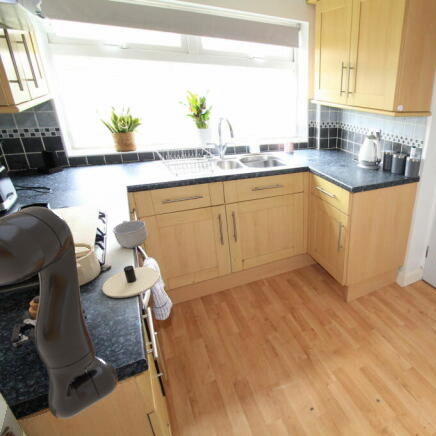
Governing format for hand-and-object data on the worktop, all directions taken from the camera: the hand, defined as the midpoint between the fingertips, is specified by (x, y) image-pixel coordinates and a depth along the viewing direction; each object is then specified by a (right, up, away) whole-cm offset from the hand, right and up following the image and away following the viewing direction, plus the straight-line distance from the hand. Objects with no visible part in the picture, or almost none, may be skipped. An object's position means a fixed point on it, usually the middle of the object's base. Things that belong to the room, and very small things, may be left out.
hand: (41, 309), depth 80 cm
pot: (-11, +4, +24) cm, 27 cm away
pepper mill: (+2, -7, +1) cm, 7 cm away
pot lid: (+10, +3, +21) cm, 23 cm away
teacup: (-5, +13, +45) cm, 47 cm away
